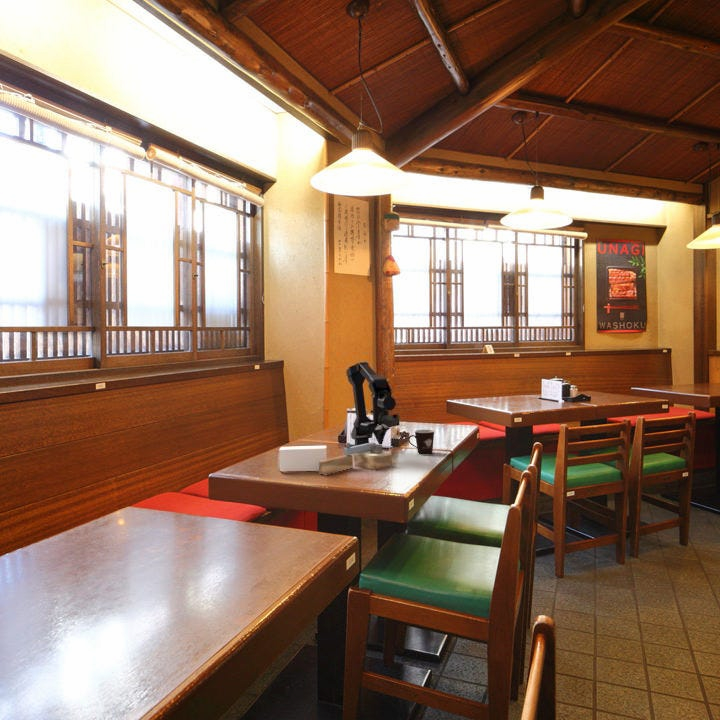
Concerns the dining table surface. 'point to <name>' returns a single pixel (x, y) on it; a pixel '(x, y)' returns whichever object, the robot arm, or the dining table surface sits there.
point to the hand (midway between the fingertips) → (380, 444)
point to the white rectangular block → (301, 458)
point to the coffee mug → (423, 441)
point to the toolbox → (373, 462)
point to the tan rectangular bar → (335, 464)
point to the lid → (374, 452)
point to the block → (357, 448)
